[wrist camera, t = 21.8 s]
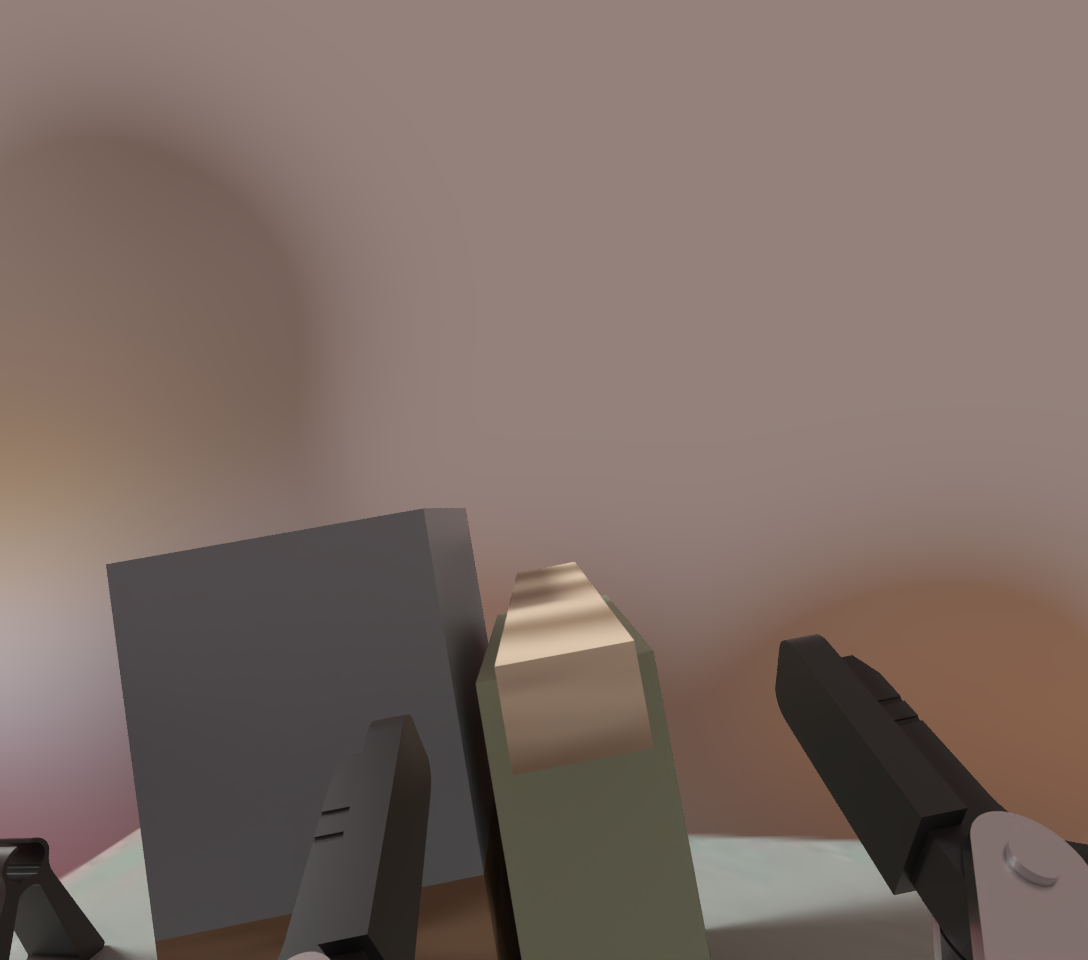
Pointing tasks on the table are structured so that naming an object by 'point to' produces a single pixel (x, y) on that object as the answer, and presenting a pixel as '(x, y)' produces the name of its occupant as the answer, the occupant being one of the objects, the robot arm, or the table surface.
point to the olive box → (596, 841)
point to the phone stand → (40, 906)
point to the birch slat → (567, 674)
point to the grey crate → (295, 701)
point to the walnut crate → (442, 936)
